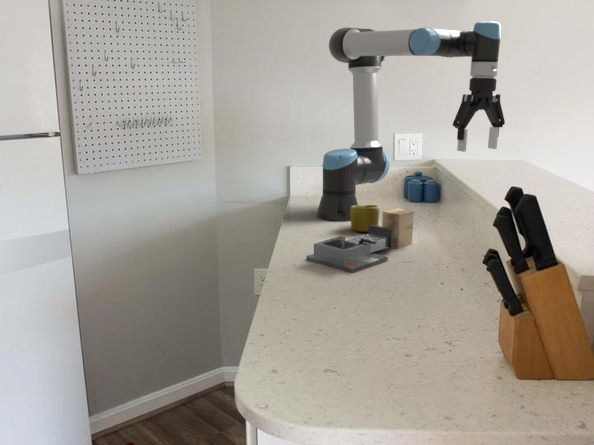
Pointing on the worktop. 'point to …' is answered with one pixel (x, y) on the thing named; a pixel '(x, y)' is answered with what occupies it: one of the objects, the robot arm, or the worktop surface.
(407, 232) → the block
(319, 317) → the worktop surface
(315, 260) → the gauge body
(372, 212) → the mug
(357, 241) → the grey blocky piece
